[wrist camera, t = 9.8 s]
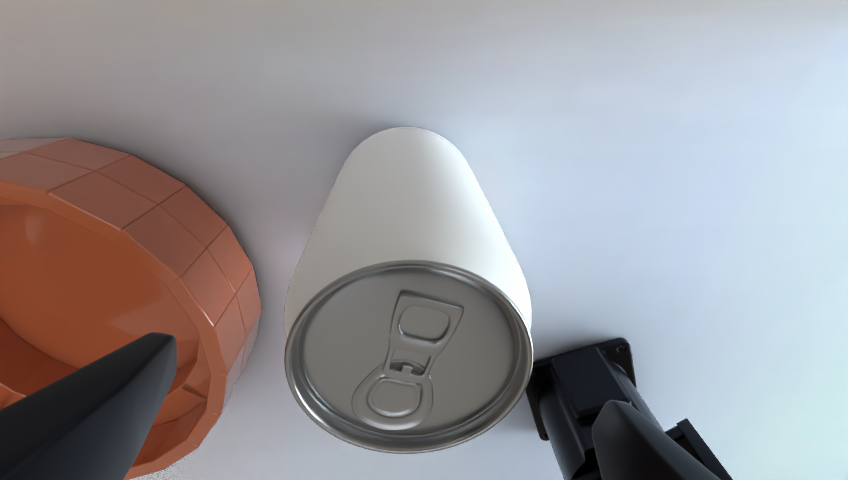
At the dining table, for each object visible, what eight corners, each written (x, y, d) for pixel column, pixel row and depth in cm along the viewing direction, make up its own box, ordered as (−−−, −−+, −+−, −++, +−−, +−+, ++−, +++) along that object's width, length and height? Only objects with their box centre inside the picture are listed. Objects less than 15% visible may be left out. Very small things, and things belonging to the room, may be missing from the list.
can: (325, 233, 21) (245, 442, 10) (356, 105, 18) (291, 204, 8) (447, 265, 22) (490, 483, 11) (493, 147, 20) (604, 287, 9)
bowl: (311, 353, 24) (288, 435, 19) (79, 423, 26) (2, 515, 21) (154, 84, 18) (59, 103, 13) (-146, 199, 19) (-337, 256, 14)
